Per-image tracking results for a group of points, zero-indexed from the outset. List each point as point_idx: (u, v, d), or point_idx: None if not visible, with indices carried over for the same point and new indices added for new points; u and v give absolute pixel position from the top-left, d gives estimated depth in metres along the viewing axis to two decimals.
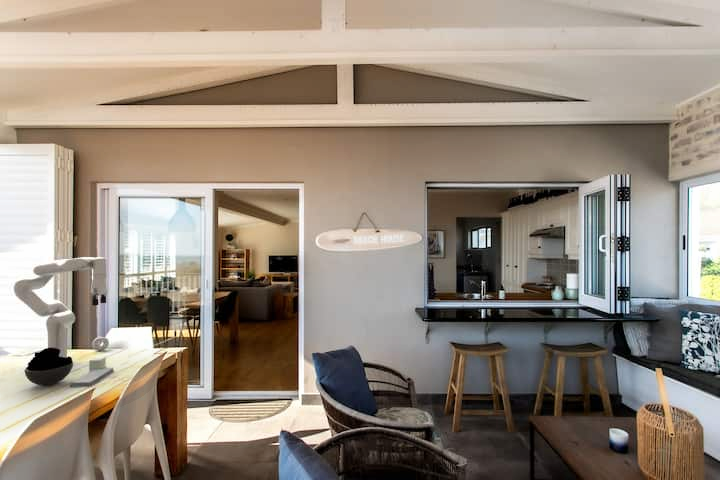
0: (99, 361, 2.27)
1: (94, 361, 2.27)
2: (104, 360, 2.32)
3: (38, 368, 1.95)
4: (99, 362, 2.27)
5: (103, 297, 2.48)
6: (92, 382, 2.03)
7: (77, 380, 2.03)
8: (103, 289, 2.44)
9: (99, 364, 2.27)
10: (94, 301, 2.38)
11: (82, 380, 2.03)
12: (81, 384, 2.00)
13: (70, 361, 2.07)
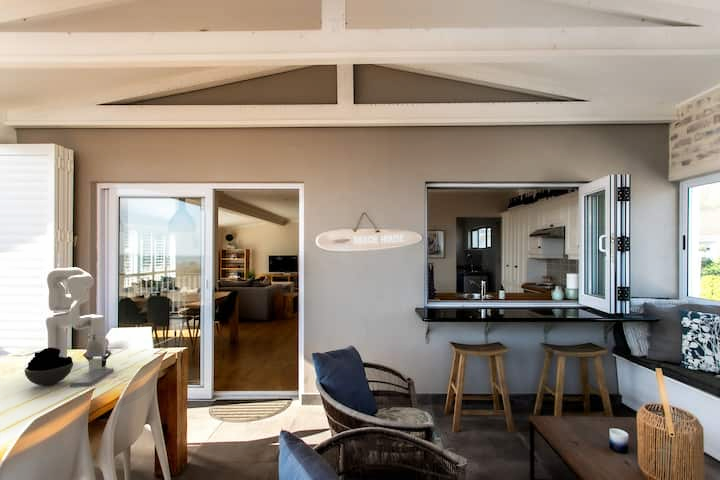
0: (99, 361, 2.27)
1: (94, 361, 2.27)
2: None
3: (38, 368, 1.95)
4: (99, 362, 2.27)
5: None
6: (92, 382, 2.03)
7: (77, 380, 2.03)
8: None
9: (99, 364, 2.27)
10: (105, 362, 2.30)
11: (82, 380, 2.03)
12: (81, 384, 2.00)
13: (70, 361, 2.07)
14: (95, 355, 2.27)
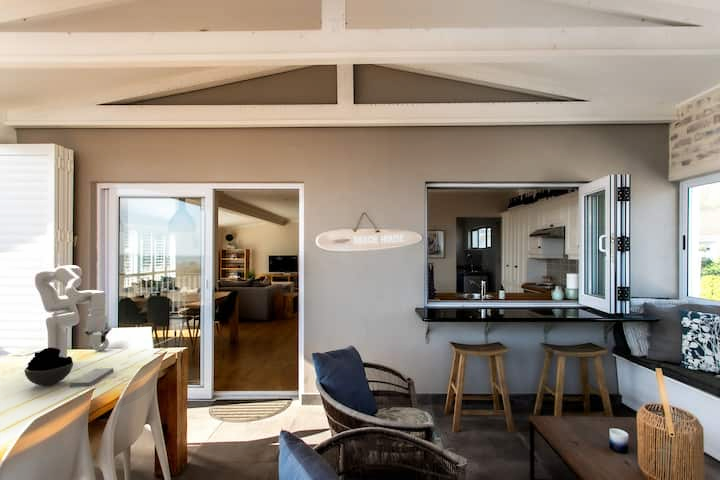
0: (98, 336, 2.28)
1: (94, 336, 2.27)
2: None
3: (38, 368, 1.95)
4: (98, 337, 2.28)
5: None
6: (92, 382, 2.03)
7: (77, 380, 2.03)
8: None
9: (98, 339, 2.28)
10: (104, 337, 2.31)
11: (82, 380, 2.03)
12: (81, 384, 2.00)
13: (70, 361, 2.07)
14: (95, 330, 2.28)
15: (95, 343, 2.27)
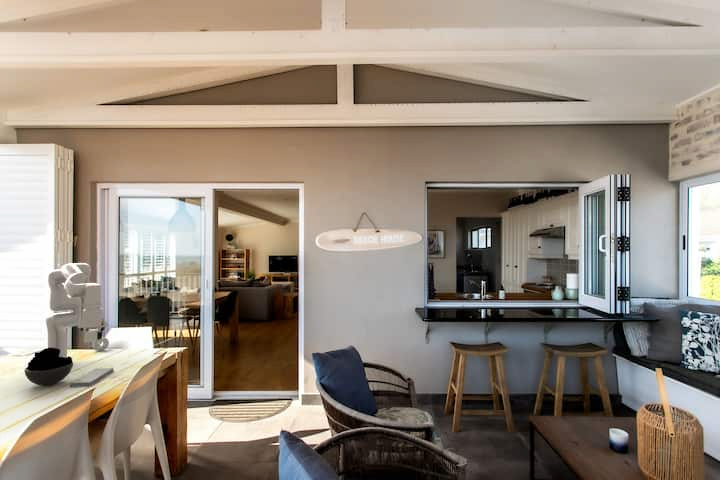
0: (95, 332, 2.10)
1: (89, 332, 2.10)
2: None
3: (38, 368, 1.95)
4: (95, 333, 2.10)
5: None
6: (92, 382, 2.03)
7: (77, 380, 2.03)
8: None
9: (95, 335, 2.10)
10: (101, 334, 2.13)
11: (82, 380, 2.03)
12: (81, 384, 2.00)
13: (70, 361, 2.07)
14: (90, 326, 2.10)
15: (91, 340, 2.10)
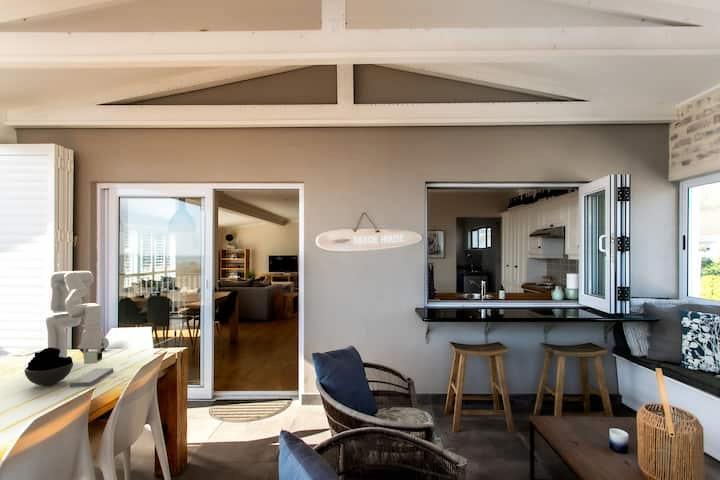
0: (94, 353, 2.09)
1: (89, 353, 2.09)
2: None
3: (38, 368, 1.95)
4: (94, 354, 2.09)
5: None
6: (92, 382, 2.03)
7: (77, 380, 2.03)
8: None
9: (94, 357, 2.09)
10: (101, 355, 2.13)
11: (82, 380, 2.03)
12: (81, 384, 2.00)
13: (70, 361, 2.07)
14: (90, 347, 2.09)
15: (91, 361, 2.09)
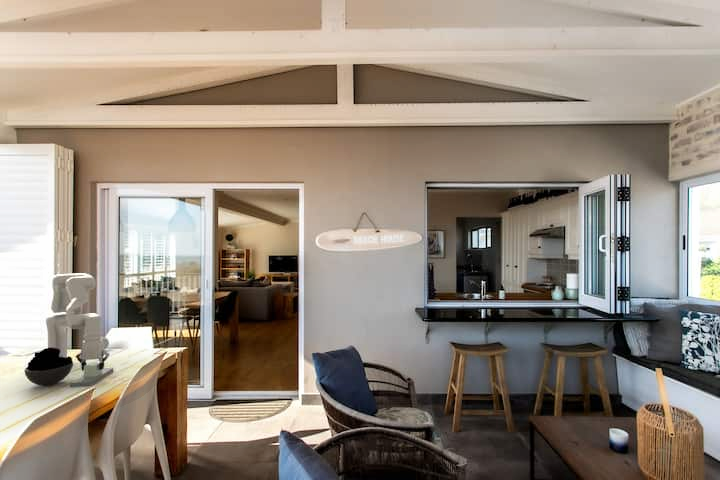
0: (94, 367, 2.09)
1: (89, 367, 2.09)
2: None
3: (38, 368, 1.95)
4: (94, 368, 2.09)
5: (85, 363, 2.12)
6: (92, 382, 2.03)
7: (77, 380, 2.03)
8: None
9: (94, 370, 2.09)
10: (103, 364, 2.13)
11: (82, 380, 2.03)
12: (81, 384, 2.00)
13: (70, 361, 2.07)
14: (90, 358, 2.09)
15: (91, 374, 2.09)
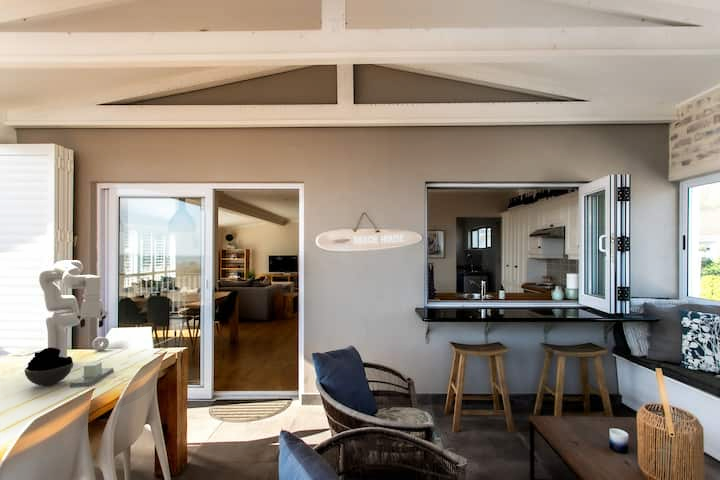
0: (94, 367, 2.09)
1: (89, 367, 2.09)
2: (100, 365, 2.14)
3: (38, 368, 1.95)
4: (94, 368, 2.09)
5: (83, 320, 2.23)
6: (92, 382, 2.03)
7: (77, 380, 2.03)
8: None
9: (94, 370, 2.09)
10: (102, 322, 2.24)
11: (82, 380, 2.03)
12: (81, 384, 2.00)
13: (70, 361, 2.07)
14: (89, 316, 2.21)
15: (91, 374, 2.09)
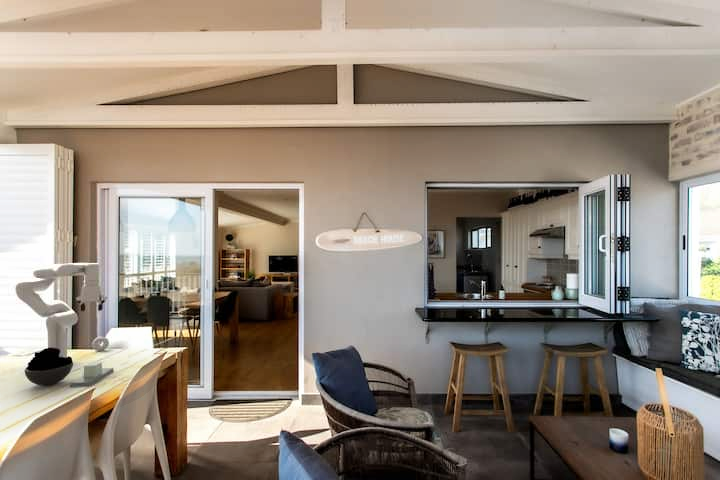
0: (94, 367, 2.09)
1: (89, 367, 2.09)
2: (100, 365, 2.14)
3: (38, 368, 1.95)
4: (94, 368, 2.09)
5: (84, 305, 2.38)
6: (92, 382, 2.03)
7: (77, 380, 2.03)
8: None
9: (94, 370, 2.09)
10: (101, 306, 2.39)
11: (82, 380, 2.03)
12: (81, 384, 2.00)
13: (70, 361, 2.07)
14: (89, 300, 2.36)
15: (91, 374, 2.09)
